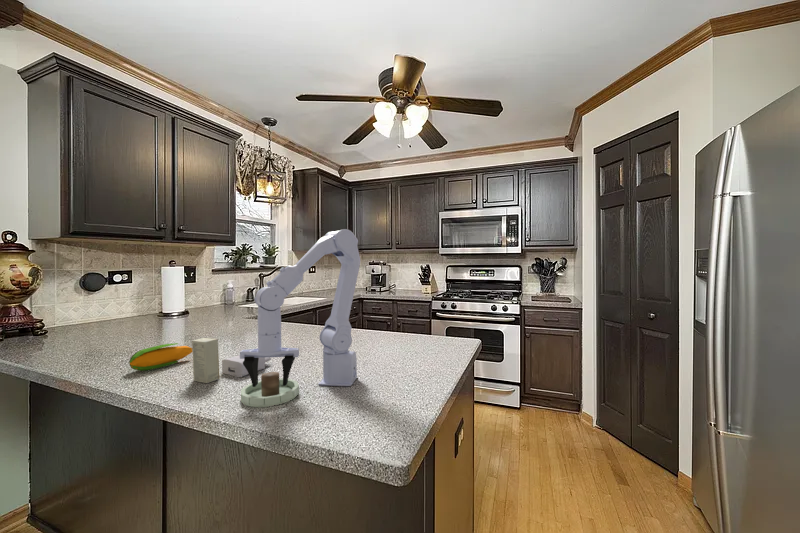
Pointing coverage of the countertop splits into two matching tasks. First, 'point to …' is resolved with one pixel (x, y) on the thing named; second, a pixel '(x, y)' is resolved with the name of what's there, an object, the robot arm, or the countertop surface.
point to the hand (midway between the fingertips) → (270, 384)
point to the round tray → (255, 399)
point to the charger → (240, 365)
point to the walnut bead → (270, 384)
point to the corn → (158, 357)
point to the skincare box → (205, 360)
